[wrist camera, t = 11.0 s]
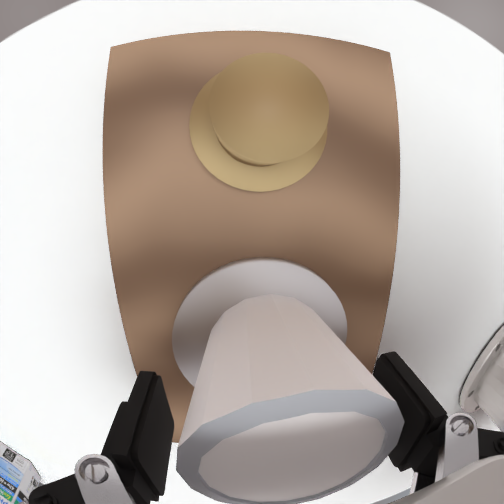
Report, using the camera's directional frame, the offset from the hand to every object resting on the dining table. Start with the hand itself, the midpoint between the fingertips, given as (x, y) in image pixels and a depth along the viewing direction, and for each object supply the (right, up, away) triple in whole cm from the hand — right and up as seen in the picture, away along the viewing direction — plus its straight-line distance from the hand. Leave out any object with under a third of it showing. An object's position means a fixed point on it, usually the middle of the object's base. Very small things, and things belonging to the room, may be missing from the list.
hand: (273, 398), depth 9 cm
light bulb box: (-37, -25, +10) cm, 46 cm away
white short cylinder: (0, +1, +3) cm, 4 cm away
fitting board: (-1, +4, +5) cm, 7 cm away
